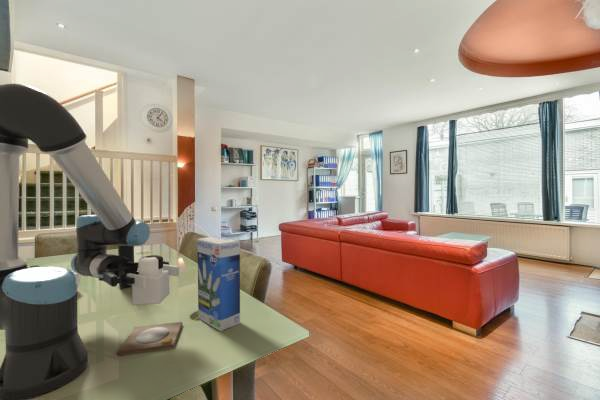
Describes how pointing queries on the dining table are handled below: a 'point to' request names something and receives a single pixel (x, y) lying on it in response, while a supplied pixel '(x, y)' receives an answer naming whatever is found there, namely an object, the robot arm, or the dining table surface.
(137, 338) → the plate
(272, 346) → the dining table surface
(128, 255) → the wine bottle
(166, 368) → the dining table surface
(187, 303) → the dining table surface
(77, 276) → the cup
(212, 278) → the string lights box
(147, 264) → the medicine bottle
